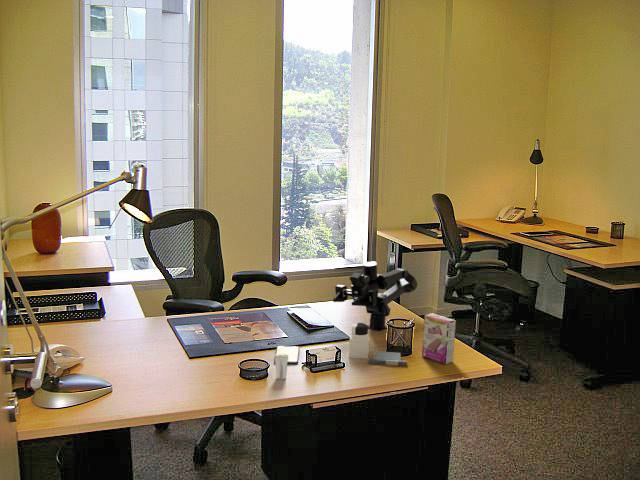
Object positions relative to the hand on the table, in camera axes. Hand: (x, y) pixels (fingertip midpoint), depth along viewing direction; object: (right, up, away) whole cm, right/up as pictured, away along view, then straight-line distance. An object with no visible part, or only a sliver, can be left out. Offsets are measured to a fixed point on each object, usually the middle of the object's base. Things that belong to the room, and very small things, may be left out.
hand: (342, 302), depth 273 cm
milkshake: (-22, -23, -33) cm, 46 cm away
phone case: (-21, -19, -12) cm, 31 cm away
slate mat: (+16, -20, -10) cm, 28 cm away
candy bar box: (+35, -20, -11) cm, 42 cm away
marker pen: (+16, -21, -17) cm, 31 cm away
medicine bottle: (+6, -19, -9) cm, 22 cm away
